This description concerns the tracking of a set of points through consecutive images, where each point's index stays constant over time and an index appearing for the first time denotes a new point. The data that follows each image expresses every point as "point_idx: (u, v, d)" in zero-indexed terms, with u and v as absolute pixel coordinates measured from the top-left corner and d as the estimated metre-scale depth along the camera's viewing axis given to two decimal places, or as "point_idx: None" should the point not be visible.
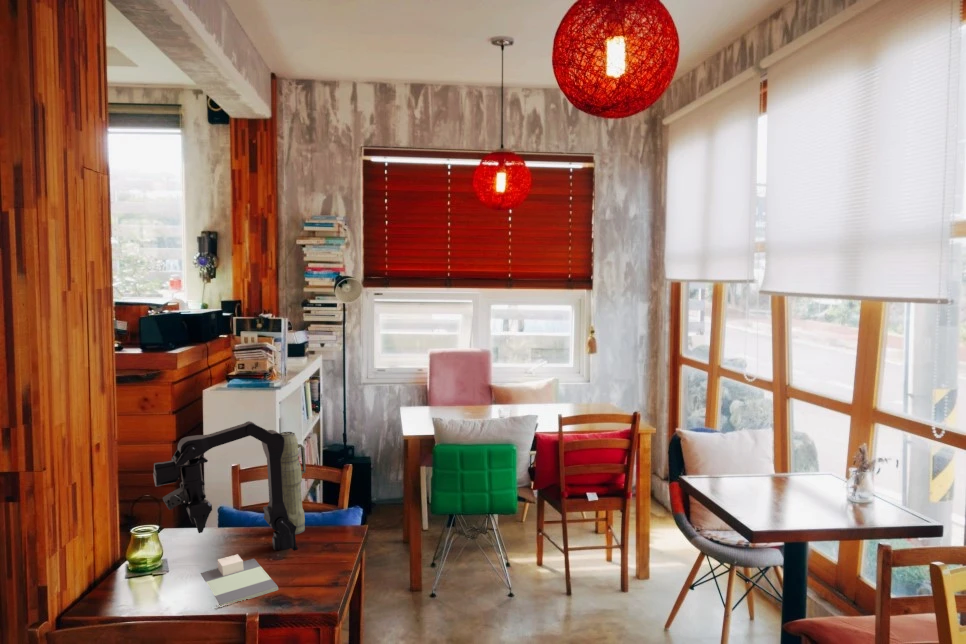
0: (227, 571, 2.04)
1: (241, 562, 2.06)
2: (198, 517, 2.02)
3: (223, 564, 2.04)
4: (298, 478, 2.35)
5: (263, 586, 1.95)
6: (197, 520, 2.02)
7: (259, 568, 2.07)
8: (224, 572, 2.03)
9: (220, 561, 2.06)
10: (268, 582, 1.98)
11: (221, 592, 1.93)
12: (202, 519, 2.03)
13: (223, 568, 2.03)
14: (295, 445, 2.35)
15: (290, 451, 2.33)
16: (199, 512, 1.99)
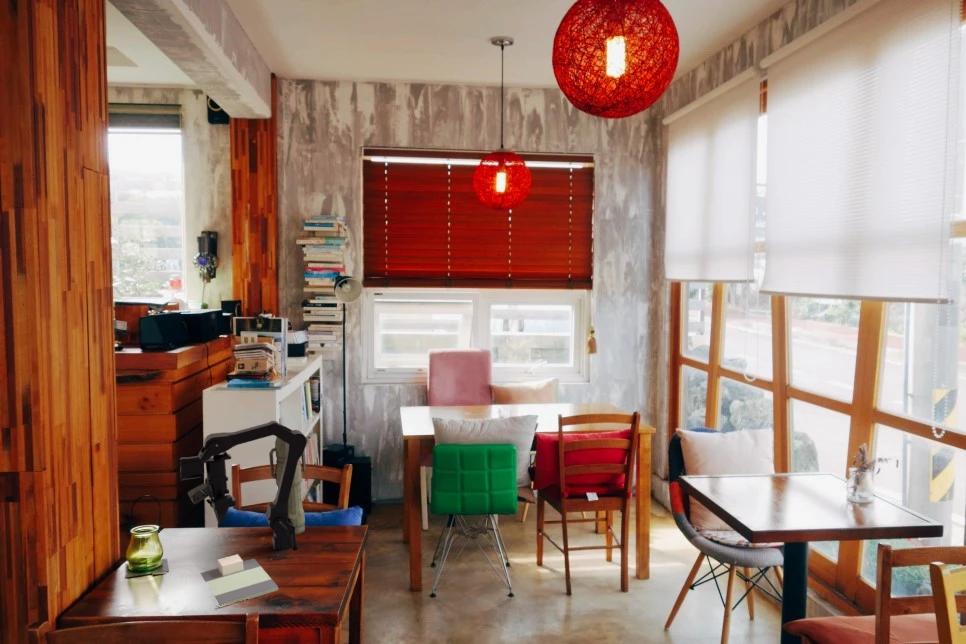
0: (227, 571, 2.04)
1: (241, 562, 2.06)
2: None
3: (223, 564, 2.04)
4: (298, 478, 2.35)
5: (263, 586, 1.95)
6: (218, 511, 2.11)
7: (259, 568, 2.07)
8: (224, 572, 2.03)
9: (220, 561, 2.06)
10: (268, 582, 1.98)
11: (221, 592, 1.93)
12: (223, 510, 2.12)
13: (223, 568, 2.03)
14: None
15: None
16: (223, 507, 2.05)
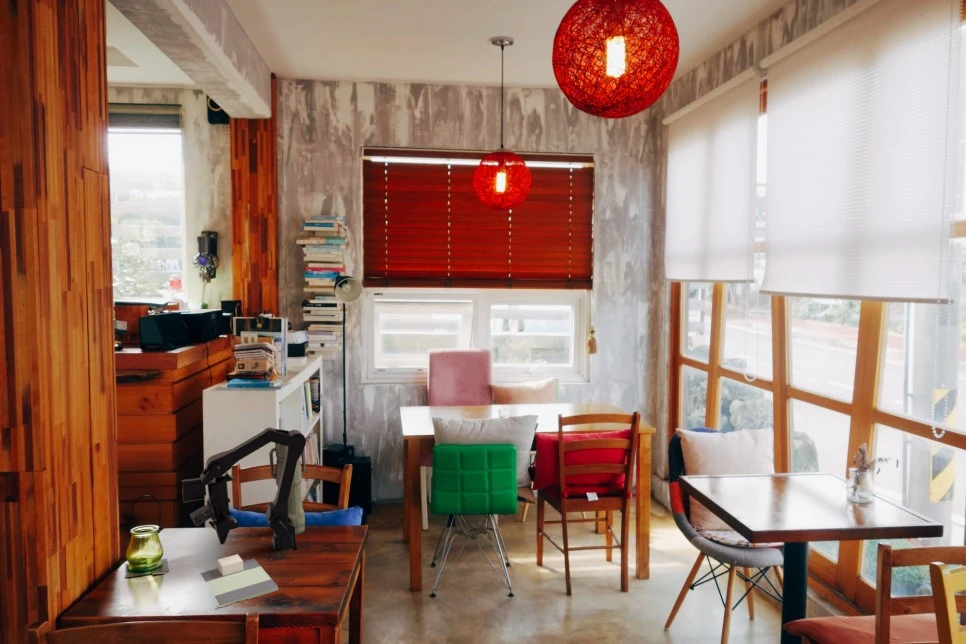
0: (227, 571, 2.04)
1: (241, 562, 2.06)
2: None
3: (223, 564, 2.04)
4: (298, 478, 2.35)
5: (263, 586, 1.95)
6: (220, 532, 2.12)
7: (259, 568, 2.07)
8: (224, 572, 2.03)
9: (220, 561, 2.06)
10: (268, 582, 1.98)
11: (221, 592, 1.93)
12: (224, 531, 2.13)
13: (223, 568, 2.03)
14: None
15: None
16: (225, 529, 2.06)
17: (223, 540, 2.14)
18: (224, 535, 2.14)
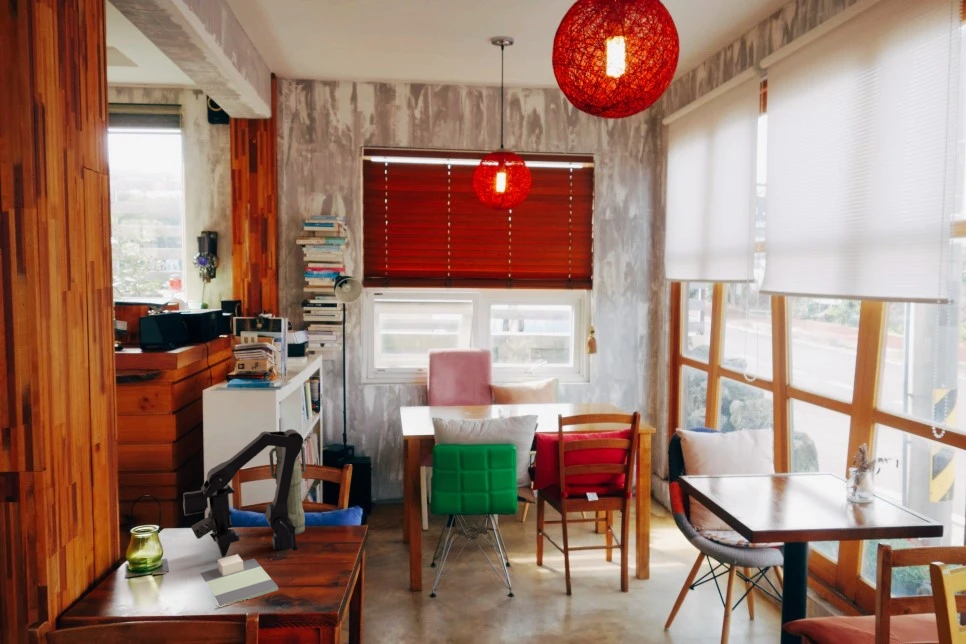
0: (227, 571, 2.04)
1: (241, 562, 2.06)
2: None
3: (223, 564, 2.04)
4: (298, 478, 2.35)
5: (263, 586, 1.95)
6: (221, 545, 2.12)
7: (259, 568, 2.07)
8: (224, 572, 2.03)
9: (220, 561, 2.06)
10: (268, 582, 1.98)
11: (221, 592, 1.93)
12: (225, 544, 2.13)
13: (223, 568, 2.03)
14: None
15: None
16: (227, 542, 2.05)
17: (224, 552, 2.13)
18: (225, 547, 2.13)
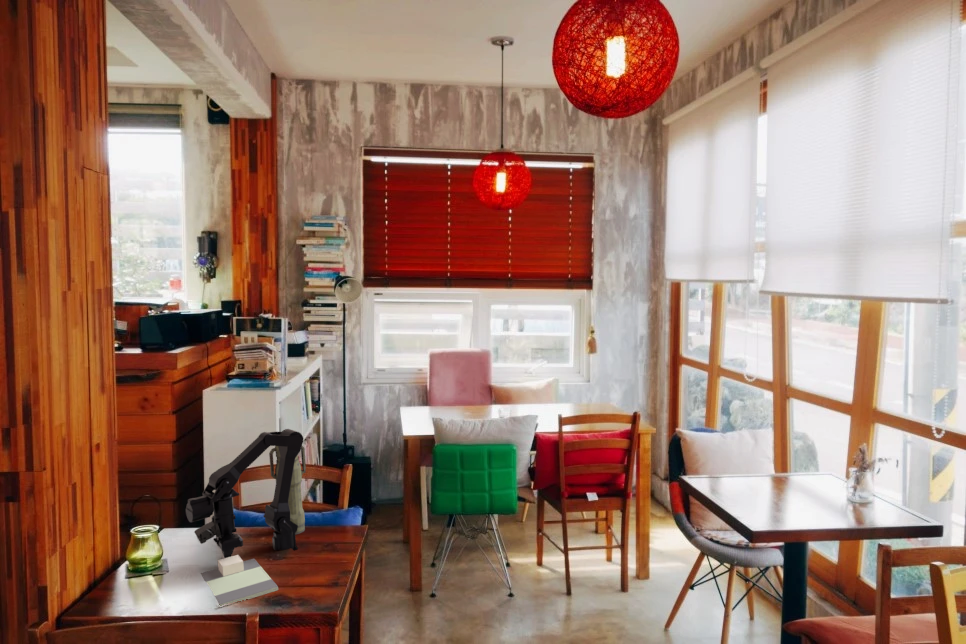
0: (227, 571, 2.03)
1: (241, 562, 2.06)
2: None
3: (223, 564, 2.04)
4: (298, 478, 2.35)
5: (263, 586, 1.95)
6: (224, 549, 2.08)
7: (259, 568, 2.07)
8: (224, 572, 2.03)
9: (220, 561, 2.06)
10: (268, 582, 1.98)
11: (221, 592, 1.93)
12: (229, 548, 2.09)
13: (223, 568, 2.03)
14: None
15: None
16: (231, 547, 2.01)
17: None
18: (229, 552, 2.09)
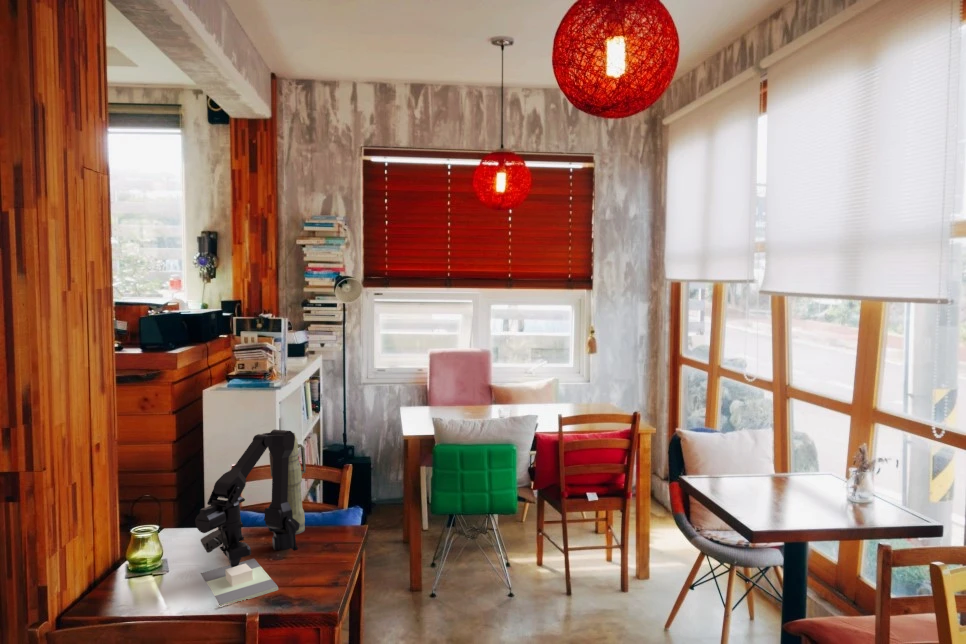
0: (236, 581, 1.97)
1: (250, 571, 1.99)
2: None
3: (232, 574, 1.97)
4: (298, 478, 2.35)
5: (263, 586, 1.95)
6: None
7: (259, 568, 2.07)
8: (233, 582, 1.96)
9: (228, 571, 1.99)
10: (268, 582, 1.98)
11: (221, 592, 1.93)
12: None
13: (232, 578, 1.96)
14: (295, 445, 2.35)
15: None
16: (238, 556, 1.95)
17: None
18: (236, 561, 2.03)
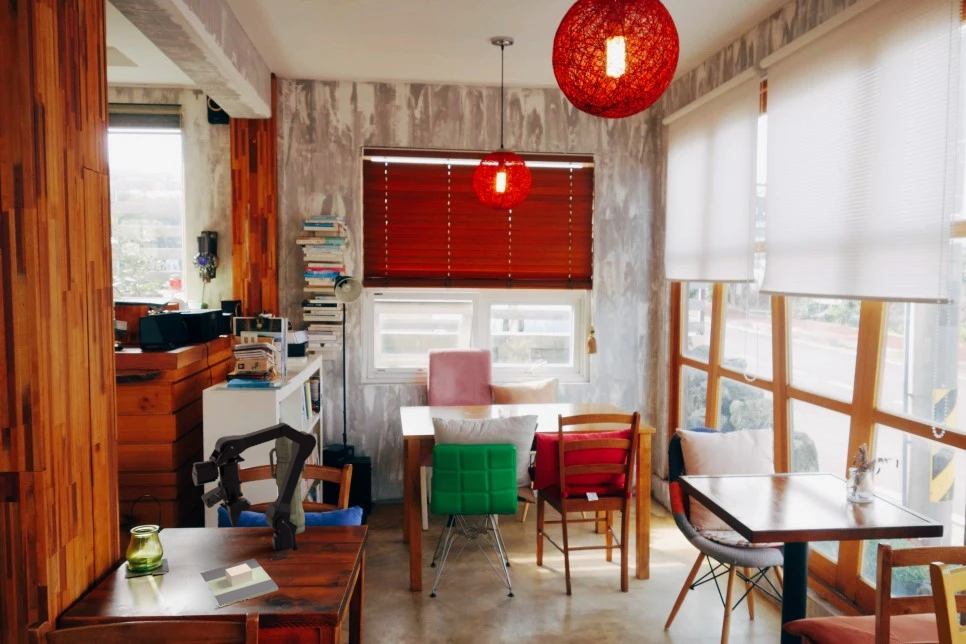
0: (236, 581, 1.97)
1: (250, 571, 1.99)
2: None
3: (232, 574, 1.97)
4: None
5: (263, 586, 1.95)
6: (232, 514, 2.11)
7: (259, 568, 2.07)
8: (233, 582, 1.96)
9: (228, 571, 1.99)
10: (268, 582, 1.98)
11: (221, 592, 1.93)
12: (236, 513, 2.12)
13: (232, 578, 1.96)
14: None
15: (290, 451, 2.33)
16: (239, 510, 2.04)
17: (235, 522, 2.12)
18: (236, 517, 2.12)
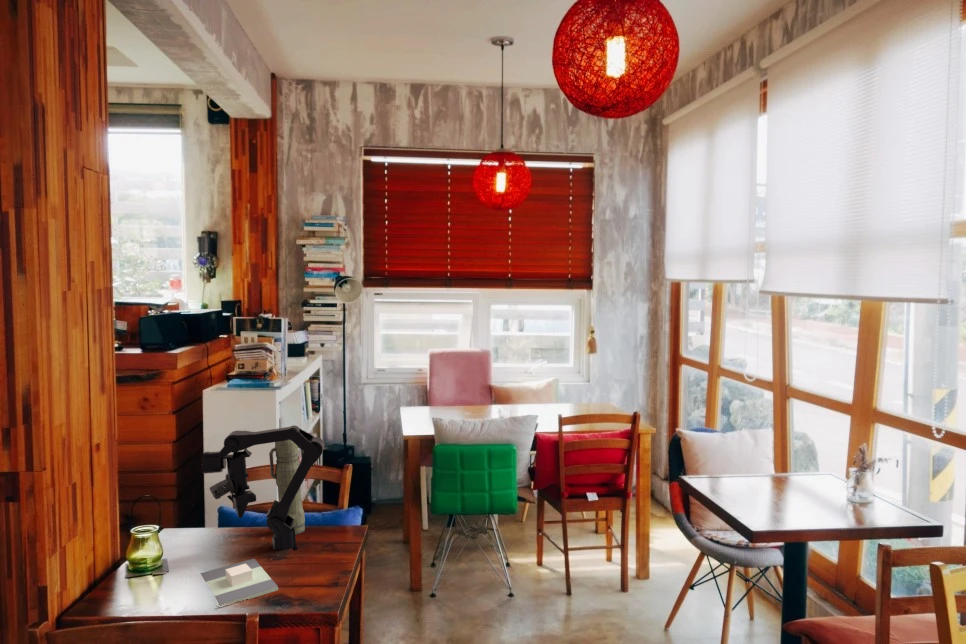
0: (236, 581, 1.97)
1: (250, 571, 1.99)
2: None
3: (232, 574, 1.97)
4: None
5: (263, 586, 1.95)
6: (238, 506, 2.18)
7: (259, 568, 2.07)
8: (233, 582, 1.96)
9: (228, 571, 1.99)
10: (268, 582, 1.98)
11: (221, 592, 1.93)
12: (242, 505, 2.19)
13: (232, 578, 1.96)
14: (295, 445, 2.35)
15: (290, 451, 2.33)
16: (244, 502, 2.12)
17: (241, 514, 2.20)
18: (242, 509, 2.19)
